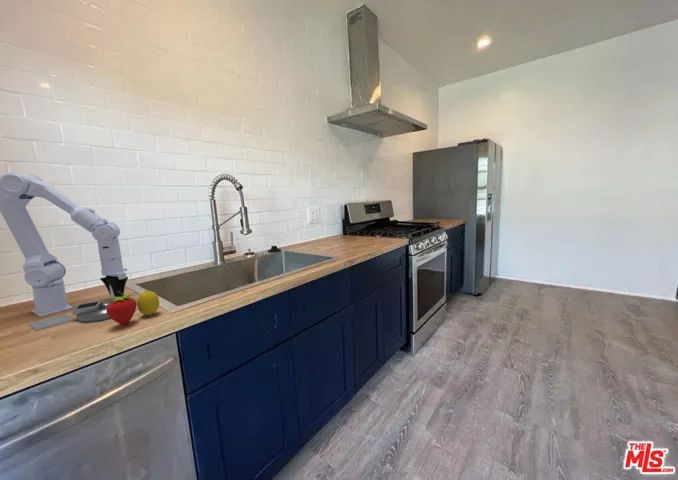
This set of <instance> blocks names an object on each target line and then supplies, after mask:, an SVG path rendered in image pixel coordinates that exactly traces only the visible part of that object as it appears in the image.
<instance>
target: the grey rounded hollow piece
mask: <svg viewBox="0 0 678 480" xmlns="http://www.w3.org/2000/svg"><path fill="white" fill-rule="evenodd" d="M109 301H111V302H109ZM112 302H114V301H112V299H111V300H107V301H103V300H98V301H90V302H85V303H78V304H76V306H74V307H73V308H72V310H71V312H72V316H76V321H77V322H78V323H83V324H85V323H86V324H88V323H89V324H91V323H97V322H102V321H108V320H112V319H111V318H110V317H109V316H108V314H107V313H106V309H107V306H108V305H109V304H110V303H112Z"/></svg>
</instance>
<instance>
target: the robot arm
mask: <svg viewBox="0 0 678 480" xmlns="http://www.w3.org/2000/svg"><path fill="white" fill-rule="evenodd" d="M35 198H42V199H44V200H47V201H49V202H50V203H52V204H53V205H55V206H56V207H58V208H60V209H62V210H63V211H65V212H66V213H68V214H70V218H71V221H73V222H74V223H75V224H76V225H78V226H79V227H82V228H83V229H85V230H86V231H87V232H89V233H91V235H92V237H93V239H94V240H96V241H97V247H98V254H99V261H100V266H101V270H100V271H101V276H104V277H100V278H99V280H101V282H102V283H103V284H104V286H105V287H106V290H107V291H108V293H109V296H110V297H111V293H110V287H109V284H110V286H111V288H112V290H113V293H114V296H115V297H124V296H125V295H124V294H125V287H126V285H127V284H126V283H127V281H128V279H129V277H128V276H127V274H126V273H127V272H128V268H124V266H123V265H124V264H123V259H122V253H121V245H120V242H119V241H120V240H119V236H120V233H121V230H120V229H121V228H120V227H119V226H118V225H117V223H114V222H109V220H108V219H107V218H103V217H101V216H100V215H99V214H97V213H96V210H95V209H94V208H93V207H92V208H89V207H85V206H83V207H82V206H81V207H80V206H79V205H78V204H76V203H75V202H74V201H72V200H71V199H69V198H68V197H67V196H65V194H63V193H62V192H60V190H58V189H56V188H55V187H54V186H53V185H51V184H50V183H49V182H47V181H45V180H43V179H42V178H41V177H40V176H36V175H33V174H29V175H28V174H21V173H17V172H7V173H4V174H3V175H1V176H0V214H1V215H2V218H3V219H4V221H5V223H6V225H7V227H8V228H9V231H10V232H11V234H12V236H13V238H14V240H15V242H16V244H17V246H18V247H19V249H20V251H21V253H22V255H23V257H24V259H25V261H24V263H23V265H22V269H23V272H24V281H25V283H27V284H28V285H30V286H31V288H32V298H33V302H34V306H35V309H32V310H31V312H32V313H34V315H37V316H39V317H43V316H48V315H51V314H56V313H59V312H63V311H67V310H70V309H74V307H73V305H70V304H69V303H68V298H67V292H66V287H65V283H64V277H65V276H66V272H67V269H66V266H65V265H64V264H62V263H61V262H60V261H59V260H58V258H57V256H55V255H53V254H51V253H50V252H49V250H48V249H47V246H46V244H45V243H44V241H43V239H42V236H41V235H40V232H39V231H38V229H37V227H36V226H35V223H34V221H33V219H32V217H31V215H30V213H29V212H28V209H27V208H26V207H27V206H28V204H29V203H30V202H31V200H33V199H35ZM126 271H127V272H126ZM118 291H119V292H120V293H119V292H118ZM121 293H122V294H123V296H122V294H121Z"/></svg>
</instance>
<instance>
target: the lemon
mask: <svg viewBox="0 0 678 480" xmlns="http://www.w3.org/2000/svg"><path fill="white" fill-rule="evenodd" d="M136 303H137V305H136V308H137V310H138V312H139V313H141V314H142V315H146V316H148V317H151V316H152V315H153V314H155V313H156V312H157V311H158V310H159V308H160V299H159V297H158V295H157V293H156V292H154V291H151V290H147V289H145V290H144V291H143V292H142V293H141V294H139V296H138V298H137V301H136Z"/></svg>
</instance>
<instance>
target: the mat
mask: <svg viewBox="0 0 678 480" xmlns="http://www.w3.org/2000/svg"><path fill="white" fill-rule="evenodd" d="M72 321H75V318H74V317H71V316H70V315H68V314H62V315H58V316H55V317H51V318H48V319H47V318H46V319H43V320H40V321H36V322H32V323H28V326H30V327H31V328H32V329H34V330H35V331H36V332H37V331H40V330H45V329H48V328H52V327H55V326H59V325H62V324H66V323H69V322H72Z"/></svg>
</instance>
